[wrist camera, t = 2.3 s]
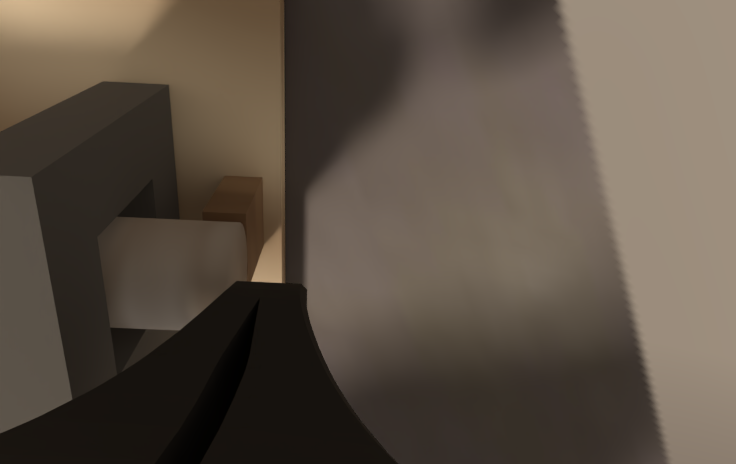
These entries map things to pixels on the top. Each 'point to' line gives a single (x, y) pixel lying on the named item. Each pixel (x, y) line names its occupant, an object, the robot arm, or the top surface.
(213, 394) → the robot arm
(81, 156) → the collar
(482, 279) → the top surface
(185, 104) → the pipe stand
